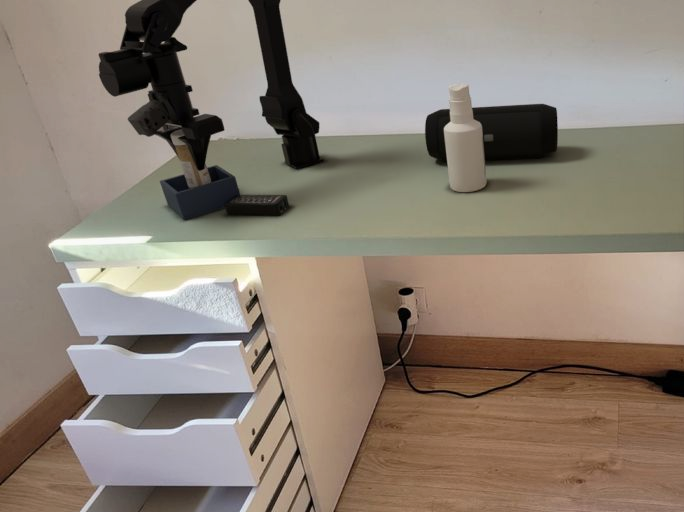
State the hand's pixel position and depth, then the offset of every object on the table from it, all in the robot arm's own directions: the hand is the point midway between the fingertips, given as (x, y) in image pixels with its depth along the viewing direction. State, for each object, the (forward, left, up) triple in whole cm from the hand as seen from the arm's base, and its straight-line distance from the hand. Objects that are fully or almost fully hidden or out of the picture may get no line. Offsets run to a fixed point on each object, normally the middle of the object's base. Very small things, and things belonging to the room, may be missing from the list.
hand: (194, 168), depth 134 cm
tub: (0, 0, -7) cm, 7 cm away
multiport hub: (-6, +12, -7) cm, 16 cm away
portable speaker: (-52, +24, -7) cm, 58 cm away
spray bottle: (-39, +33, -7) cm, 52 cm away
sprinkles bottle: (0, 0, -7) cm, 7 cm away
